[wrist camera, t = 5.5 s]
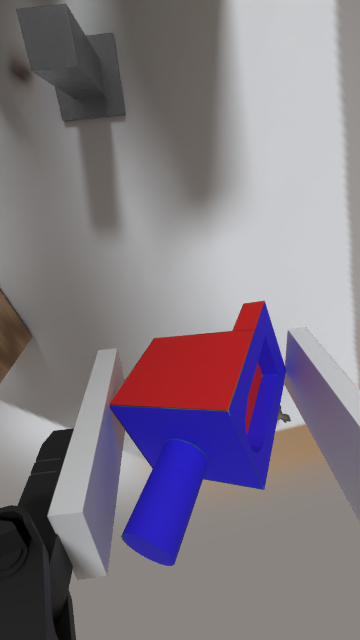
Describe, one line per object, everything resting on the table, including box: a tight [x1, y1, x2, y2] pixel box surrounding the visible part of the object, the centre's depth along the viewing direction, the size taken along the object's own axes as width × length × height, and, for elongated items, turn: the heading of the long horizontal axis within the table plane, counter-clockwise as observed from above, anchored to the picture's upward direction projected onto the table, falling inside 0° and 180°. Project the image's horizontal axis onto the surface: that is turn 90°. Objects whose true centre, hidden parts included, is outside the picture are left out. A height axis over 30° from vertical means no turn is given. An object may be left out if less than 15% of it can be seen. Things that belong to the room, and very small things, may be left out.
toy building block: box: [109, 301, 286, 566], centre depth 11 cm, size 4×4×8 cm
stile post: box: [16, 4, 125, 121], centre depth 20 cm, size 5×5×10 cm
